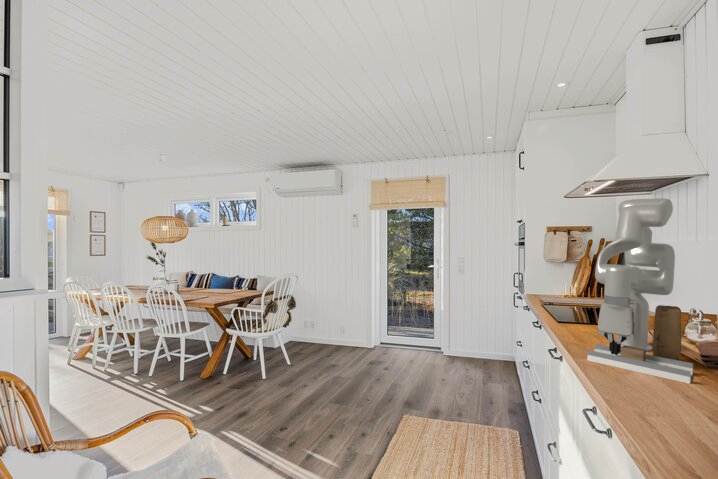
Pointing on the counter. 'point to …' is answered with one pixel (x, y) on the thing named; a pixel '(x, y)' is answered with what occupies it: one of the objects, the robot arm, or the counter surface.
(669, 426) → the counter surface
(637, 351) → the walnut block
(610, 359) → the board
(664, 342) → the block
